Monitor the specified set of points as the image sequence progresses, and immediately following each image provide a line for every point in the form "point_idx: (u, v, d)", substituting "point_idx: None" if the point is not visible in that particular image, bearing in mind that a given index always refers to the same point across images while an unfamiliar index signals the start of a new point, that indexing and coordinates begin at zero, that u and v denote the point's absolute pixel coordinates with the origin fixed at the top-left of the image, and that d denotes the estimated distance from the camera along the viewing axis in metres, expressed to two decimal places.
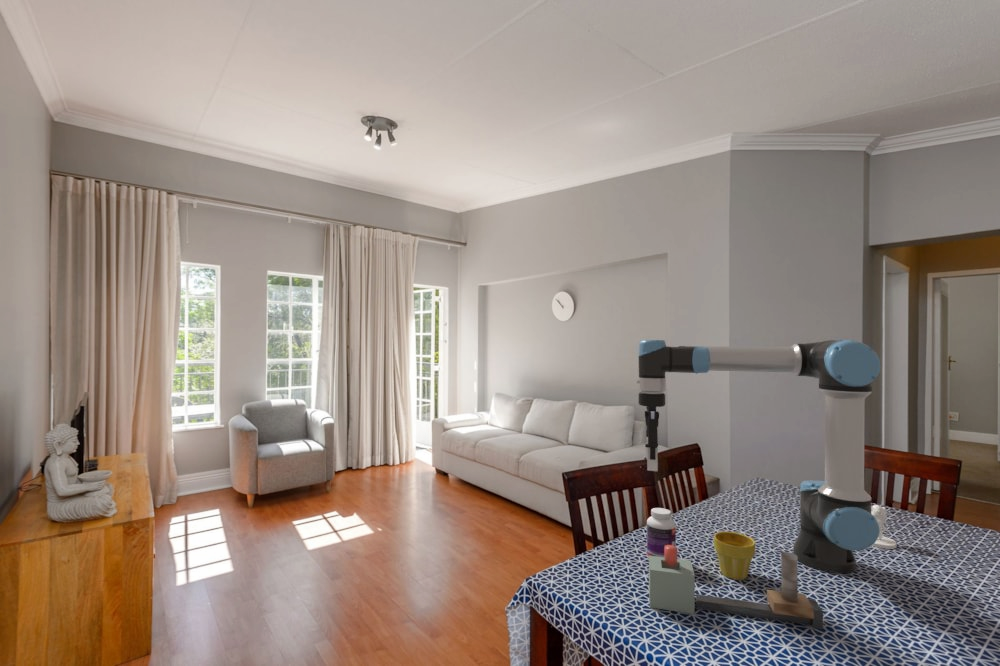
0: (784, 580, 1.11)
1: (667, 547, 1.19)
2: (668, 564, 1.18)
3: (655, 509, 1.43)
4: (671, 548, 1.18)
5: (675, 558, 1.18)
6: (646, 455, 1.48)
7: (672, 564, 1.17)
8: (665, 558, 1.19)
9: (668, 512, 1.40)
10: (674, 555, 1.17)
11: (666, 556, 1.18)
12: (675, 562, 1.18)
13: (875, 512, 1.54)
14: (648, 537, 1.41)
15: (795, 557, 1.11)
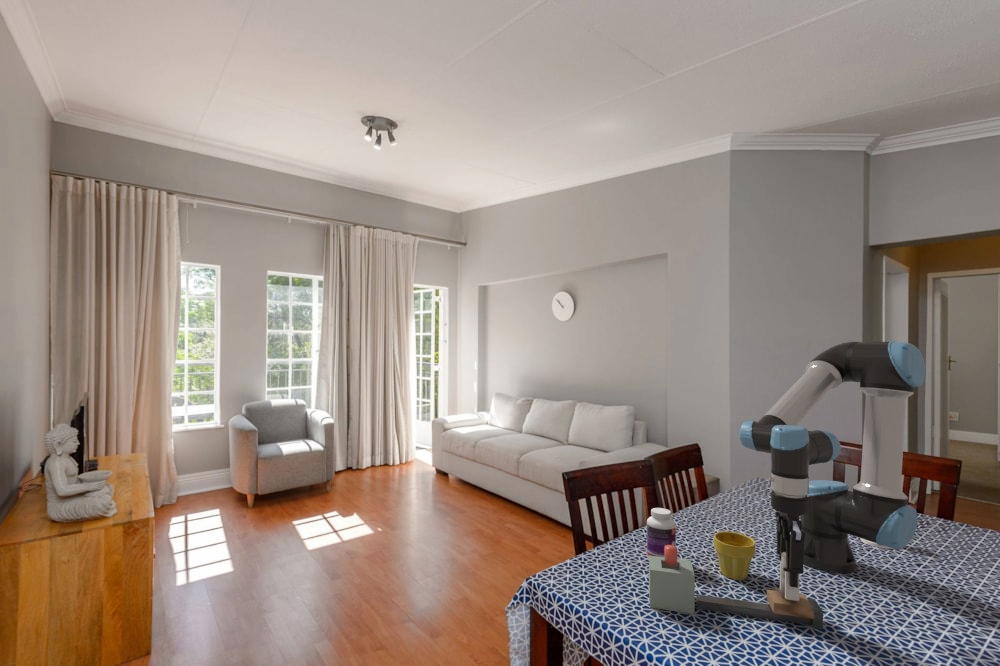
0: (784, 580, 1.11)
1: (667, 547, 1.19)
2: (668, 564, 1.18)
3: (655, 509, 1.43)
4: (671, 548, 1.18)
5: (675, 558, 1.18)
6: None
7: (672, 564, 1.17)
8: (665, 558, 1.19)
9: (668, 512, 1.40)
10: (674, 555, 1.17)
11: (666, 556, 1.18)
12: (675, 562, 1.18)
13: None
14: (648, 537, 1.41)
15: None
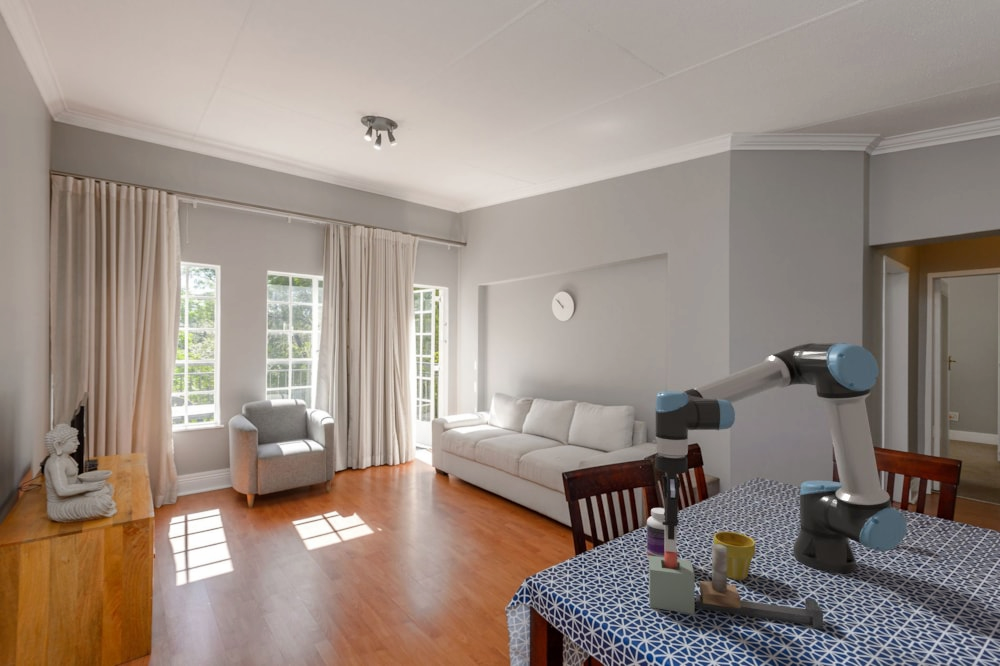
0: (714, 571, 1.15)
1: (667, 551, 1.19)
2: (668, 568, 1.18)
3: (655, 509, 1.43)
4: (671, 552, 1.18)
5: (675, 562, 1.18)
6: (664, 545, 1.19)
7: (672, 568, 1.17)
8: (665, 562, 1.19)
9: None
10: (674, 559, 1.17)
11: (666, 560, 1.18)
12: (675, 567, 1.18)
13: None
14: (648, 537, 1.41)
15: (724, 549, 1.15)
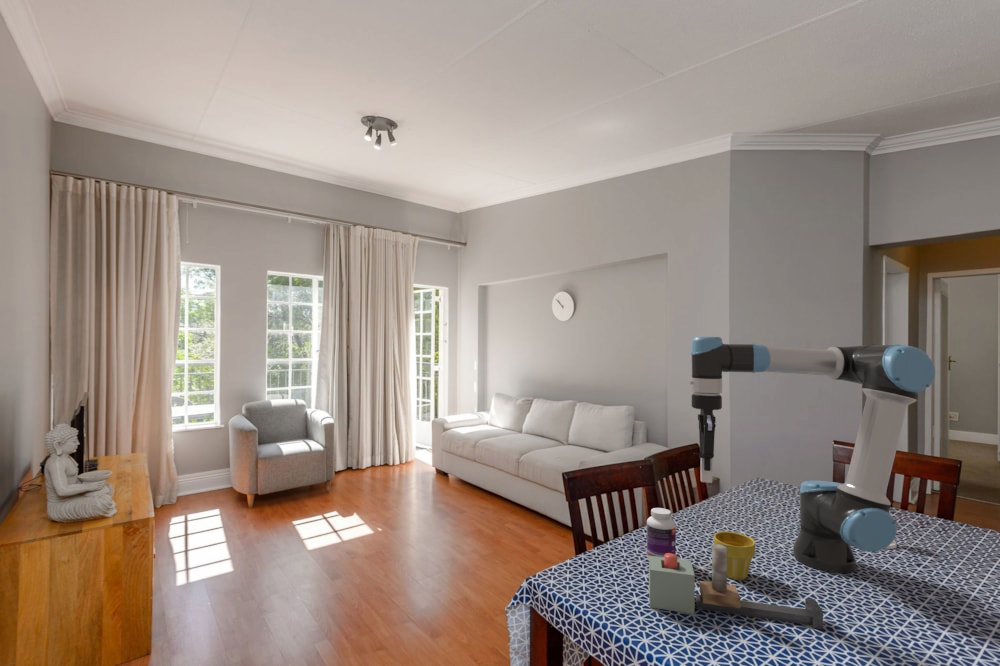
0: (714, 571, 1.15)
1: (667, 555, 1.19)
2: None
3: (655, 509, 1.43)
4: (671, 556, 1.18)
5: (675, 566, 1.18)
6: (701, 477, 1.30)
7: None
8: (665, 566, 1.19)
9: (668, 512, 1.40)
10: (674, 563, 1.17)
11: (666, 564, 1.18)
12: None
13: None
14: (648, 537, 1.41)
15: (724, 549, 1.15)
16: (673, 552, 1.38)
